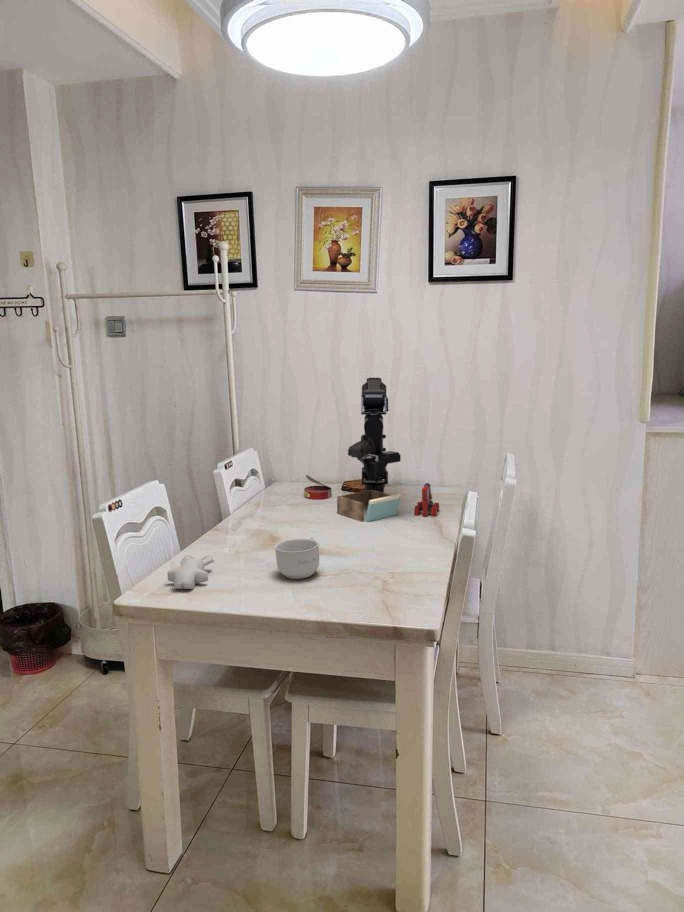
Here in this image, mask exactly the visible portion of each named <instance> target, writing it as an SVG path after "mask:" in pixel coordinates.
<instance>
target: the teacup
mask: <svg viewBox="0 0 684 912" xmlns="http://www.w3.org/2000/svg"><path fill="white" fill-rule="evenodd" d="M319 545H320V542H319V541H318V540H316V539H313V537H312V536H306V537H305V538H304V537H302V538H301V537H300V538H299V537H298V538H297V537H296V538H290V539H285V540H282V541H280V542H278V543H275V545H274V550H275V559H276V565H277V566H276V567H277V569H278V571H279V573H280V574H282V575H283V576H284V577H286V578H288V579H292V580H300V579H305V578H309V577H311V576H312V575H314V573H315V572H316V571H317V570H318V568H319V566H320V548H319V547H320V546H319Z"/></svg>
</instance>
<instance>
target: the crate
mask: <svg viewBox="0 0 684 912" xmlns="http://www.w3.org/2000/svg"><path fill="white" fill-rule="evenodd" d="M391 495H392V494H389V493H387V492H384V493H382V492H379V491H375V490H367V491H365V490H363V491H358V492H353V493H348V494H342V495H337V496H336V497H337V498H336V502H337V503H336V504H337V507H336V508H337V510H336V511H337V512H336V513H337V515H340V516H343V517H345V518H349V519H352V520H355V521H357V522H361V523H363V522H364V521H365V516H364V515H365V512H364V511H365V510H366V509H368V505H369V500H373V499H377V498H382V497H387V496H391Z"/></svg>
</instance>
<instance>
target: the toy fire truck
mask: <svg viewBox="0 0 684 912" xmlns="http://www.w3.org/2000/svg"><path fill="white" fill-rule="evenodd" d="M431 491H432V490H431V484H430V483H429V482H426V483H424V484H423V487H422V490H421V499H422V500H421V501H418V502H417V505H415V506H414V511H413V515H414V516H418V517H419V516H420V515H422V517H427V516H429V515H430V516H431V517H432V518H433V517H434V518H435V517H437V515H438V513H439V511H440V502H434V501H433V495H432V492H431Z"/></svg>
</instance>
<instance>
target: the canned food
mask: <svg viewBox="0 0 684 912" xmlns="http://www.w3.org/2000/svg"><path fill="white" fill-rule="evenodd" d="M305 477H306V479H308V480H309V481H310V482H312V483H315V484H318V485H311V486H306V487H305V488H304V498H305V499H308V500H312V501H313V500H315V501H321V500H327V499H330V498H332V497H333V496H332V487H331V486H327V485H325V484H323V483H321V482H320V481H318V480H316V479H315V478H313V477H311V476H310V475H309V474H305Z"/></svg>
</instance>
